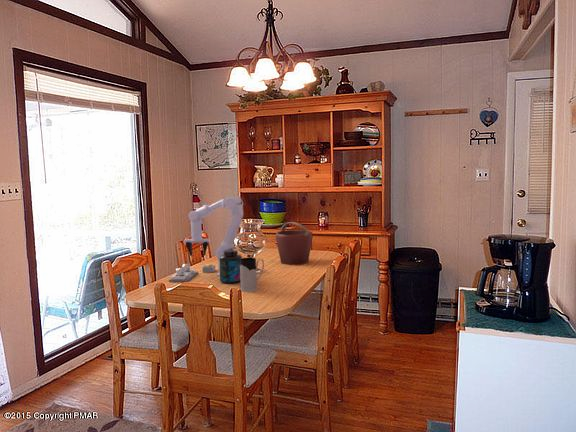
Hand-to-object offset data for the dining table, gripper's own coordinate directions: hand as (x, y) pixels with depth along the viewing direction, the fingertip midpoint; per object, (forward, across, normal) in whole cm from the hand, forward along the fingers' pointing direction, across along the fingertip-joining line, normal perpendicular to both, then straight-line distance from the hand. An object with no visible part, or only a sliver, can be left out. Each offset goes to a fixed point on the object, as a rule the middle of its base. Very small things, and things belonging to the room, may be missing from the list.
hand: (197, 255), depth 263 cm
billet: (+9, +5, +6) cm, 12 cm away
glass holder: (+10, -36, +35) cm, 52 cm away
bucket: (+10, -52, -27) cm, 60 cm away
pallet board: (+10, +5, +11) cm, 16 cm away
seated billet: (+9, +5, +17) cm, 20 cm away
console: (+10, -5, -4) cm, 12 cm away
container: (+10, -23, +20) cm, 32 cm away
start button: (+11, -5, -4) cm, 13 cm away
